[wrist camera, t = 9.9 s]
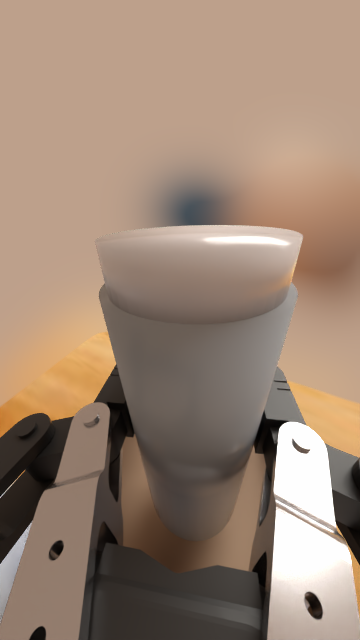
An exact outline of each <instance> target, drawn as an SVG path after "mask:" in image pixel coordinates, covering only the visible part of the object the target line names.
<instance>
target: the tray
mask: <svg viewBox="0 0 360 640" xmlns="http://www.w3.org/2000/svg"><path fill="white" fill-rule="evenodd" d="M122 448H123V461H122V494H121V507H122V515H123V546H125V547H130V548H135V549H140V550H142V551H143V552H145V553H146V554H148V555H149V556H151V557H152V558H153V559H155V560H156V561H158V562H159V563H161V564H162V565H164V566H165V567H167V568H168V569H170V570H171V571H173V572H175V573H183V572H188V571H192V570H197V569H201V568H206V567H210V566H215V565H220V566H225V567H230V568H235V569H240V570H245V571H249V563H250V556H251V550H252V545H253V540H254V536H255V532H256V526H257V519H258V512H259V504H260V496H261V489H262V481H263V474H264V468H265V465H266V464H265V459H264V454H256V453H255V448H254V445H253V448H252V452H251V455H250V459H249V462H248V465H247V469H246V472H245V475H244V479H243V482H242V485H241V489H240V492H239V495H238V499H237V502H236V505H235V509H234V512H233V514H232V516H231V519H230V520H229V522H228V523H227V525H226V526H225V527H224V528H223V530H222V531H221V532H219V533H218V534H217V535H215V536H214V537H212V538H210V539H207V540H203V541H189V540H185V539H182V538H180V537H178V536H176V535H175V534H173V533H172V532H171V531H169V530H168V529H167V528H166V527H165V525H164V524H163V523H162V521H161V520H160V518H159V517H158V515H157V513H156V510H155V508H154V505H153V501H152V498H151V494H150V490H149V486H148V482H147V479H146V475H145V471H144V467H143V463H142V460H141V456H140V452H139V448H138V444H137V440H136V437H135V434H134V437H133V438H132V437H125V440H124V443H123V446H122ZM61 553H62V552H61ZM60 555H61V554H60ZM60 555H59V556H60ZM307 610H308V612H309V614H310V615H311V616H312V617H313V613H312V609H311V607H310V606H309V607H308V609H307Z"/></svg>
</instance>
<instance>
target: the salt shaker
mask: <svg viewBox="0 0 360 640" xmlns="http://www.w3.org/2000/svg"><path fill="white" fill-rule="evenodd" d="M302 239H303V235H302V234H300V233H298V232H295V231H291V230H286V229H279V228H271V227H259V226H258V227H257V226H237V225H236V226H235V225H203V226H202V225H200V226H175V227H159V228H147V229H138V230H130V231H124V232H118V233H112V234H109V235H105V236H102V237H99V238H97V239H96V240H95V243H96V247H97V252H98V256H99V260H100V265H101V269H102V273H103V277H104V281H105V284H104V285H103V286H102V287H101V289H100V292H99V299H100V303H101V307H102V310H103V314H104V318H105V322H106V326H107V329H108V334H109V337H110V341H111V345H112V349H113V353H114V356H115V360H116V364H117V368H118V372H119V376H120V379H121V383H122V387H123V391H124V395H125V398H126V402H127V406H128V410H129V414H130V418H131V421H132V425H133V429H134V433H135V437H136V440H137V444H138V448H139V452H140V456H141V460H142V463H143V467H144V471H145V475H146V479H147V482H148V486H149V490H150V494H151V498H152V501H153V505H154V508H155V510H156V513H157V515H158V517H159V518H160V520H161V521H162V523H163V524H164V525H165V527H166V528H167V529H168V530H169V531H171V532H172V533H173V534H175V535H176V536H178V537H180V538H182V539H185V540H189V541H203V540H207V539H210V538H212V537H214V536H215V535H217V534H218V533H219V532H221V531H222V530H223V528H224V527H225V526H226V525H227V523H228V522H229V520H230V519H231V516H232V514H233V512H234V509H235V505H236V502H237V499H238V495H239V492H240V489H241V485H242V482H243V479H244V475H245V472H246V469H247V465H248V462H249V459H250V455H251V452H252V448H253V445H254V442H255V438H256V435H257V432H258V428H259V425H260V422H261V418H262V415H263V412H264V408H265V405H266V402H267V398H268V395H269V391H270V388H271V385H272V381H273V378H274V375H275V371H276V368H277V365H278V361H279V358H280V354H281V351H282V348H283V344H284V341H285V337H286V334H287V331H288V327H289V324H290V321H291V317H292V314H293V311H294V307H295V304H296V301H297V298H298V293H297V289H296V287H295V286H294V285H293V284H292V282H291V280H292V277H293V273H294V269H295V265H296V262H297V258H298V254H299V250H300V246H301V243H302Z"/></svg>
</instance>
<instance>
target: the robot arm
mask: <svg viewBox="0 0 360 640" xmlns="http://www.w3.org/2000/svg"><path fill="white" fill-rule="evenodd" d="M134 434H135V433H134V429H133V425H132V421H131V418H130V414H129V410H128V406H127V402H126V398H125V395H124V391H123V387H122V383H121V379H120V376H119V372H118V368H117V364H116V366H115V367H114V369H113V371H112V372H111V374H110V376H109V377H108V379H107V381H106V383H105V384H104V386H103V388H102V389H101V391H100V393H99V394H98V396H97V398H96V399H95V401H94V403H91V404H89V405H87V406H85V407H83V408H82V409H81V410H79V411H78V412H77V413H76V415H75V416H73V417H69V418H64V419H59V420H54V421H51V420H50V418H49V417H48V415H46V414H43V413H37V414H33V415H30V416H28V417H26V418H24V419H22V420H21V421H19V422H18V423H17V424H15V425H14V426H13V427H12V428H11V429H10V430H9V431H7V432H6V433H5V434H4V435H3V436H2V437H1V438H0V496H1V495H2V494H3V493H4V492H5V491H6V490H7V489H8V488H9V486H10V485H11V484H12V483H13V482H14V481H15V480H16V479H17V478H18V477H19V475H20V474H21V473H22V472H23V471H24V470H25V472H24V473H23V474H22V475H21V476H20V477H19V478H18V479H17V480H16V481H15V483H14V484H13V485H12V486H11V487H10V488H9V489H8V490H7V491H6V492H5V494H4V495H3V496H2V497H1V498H0V564H1V562H2V561H3V560H4V558H5V557H6V556H7V554H8V553H9V551H10V550H11V549H12V547H13V546H14V545H15V543H16V542H17V541H18V539H19V538H20V537H21V535H22V534H23V533H24V531H25V530H26V529H27V527H28V526H29V524H30V523H31V522H32V520H33V522H32V525H31V528H30V531H29V535H28V538H27V541H26V544H25V547H24V551H23V554H22V557H21V560H20V563H19V567H18V570H17V573H16V576H15V579H14V583H13V586H12V589H11V592H10V595H9V599H8V602H7V605H6V608H5V611H4V615H3V618H2V621H1V624H0V640H360V619H359V612H358V605H357V598H356V591H355V584H354V577H353V571H352V564H351V558H350V554H349V550H348V546H347V544H348V545H349V547H350V549H351V551H352V552H353V554H354V556H355V558H356V559H357V561H358V563H359V565H360V458H358V457H356V456H353V455H351V454H348V453H346V452H343V451H341V450H338V449H336V448H333V447H331V446H329V445H327V444H325V443H324V442H323V441H322V440H321V438H320V437H319V436H318V435H317V434H316V433H315V432H314V431H313V430H311V429H310V428H308V427H307V425H306V423H305V421H304V419H303V417H302V414H301V412H300V410H299V408H298V405H297V403H296V401H295V399H294V396H293V394H292V392H291V391H290V387H289V385H288V383H287V380H286V378H285V376H284V373H283V372H282V371H281V370H280V369H279V368H278V367H277V368H276V371H275V375H274V378H273V381H272V385H271V388H270V391H269V395H268V398H267V402H266V405H265V408H264V412H263V415H262V418H261V422H260V425H259V428H258V432H257V435H256V438H255V442H254V448H255V453H256V454H264V459H265V464H266V465H265V468H264V474H263V481H262V489H261V496H260V504H259V512H258V519H257V526H256V532H255V536H254V540H253V545H252V550H251V556H250V563H249V571H245V570H240V569H235V568H230V567H225V566H220V565H215V566H210V567H206V568H201V569H197V570H192V571H188V572H183V573H175V572H173V571H171V570H170V569H168V568H167V567H165V566H164V565H162V564H161V563H159V562H158V561H156V560H155V559H153V558H152V557H151V556H149V555H148V554H146V553H145V552H143V551H142V550H140V549H135V548H130V547H125V546H123V515H122V507H121V494H122V461H123V448H122V446H123V443H124V440H125V437H132V438H133V437H134ZM335 523H336V524H337V526H338V528H339V530H340V531H341V533H342V535H343V537H344V538H345V540H346V542H347V544H346V542H345V540H344V538H343V537H342V536H341V535H340V534H339V533H338V531H337V529H336V525H335ZM61 552H62V553H61ZM60 554H61V555H60ZM59 555H60V556H59ZM309 606H310V607H311V609H312V613H313V617H312V616H311V615H310V614H309V612H308V610H307V609H308V607H309Z"/></svg>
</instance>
